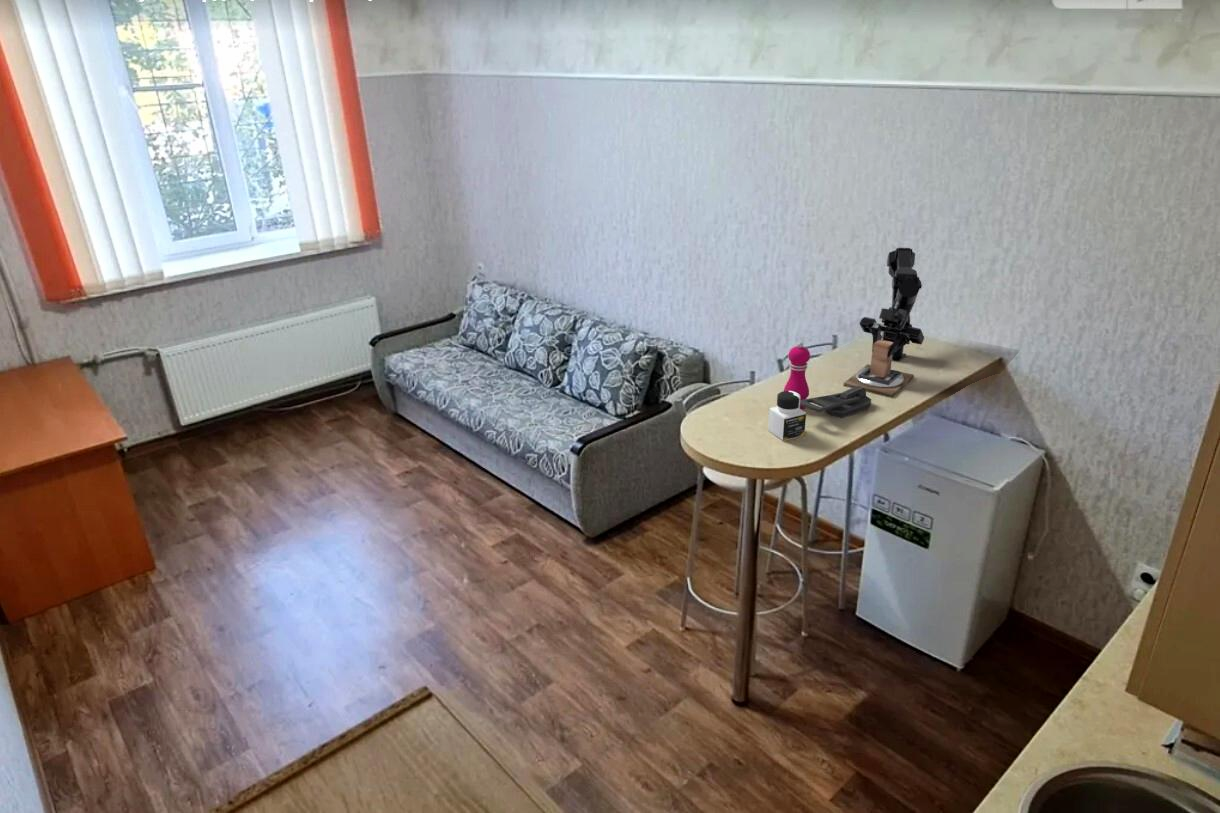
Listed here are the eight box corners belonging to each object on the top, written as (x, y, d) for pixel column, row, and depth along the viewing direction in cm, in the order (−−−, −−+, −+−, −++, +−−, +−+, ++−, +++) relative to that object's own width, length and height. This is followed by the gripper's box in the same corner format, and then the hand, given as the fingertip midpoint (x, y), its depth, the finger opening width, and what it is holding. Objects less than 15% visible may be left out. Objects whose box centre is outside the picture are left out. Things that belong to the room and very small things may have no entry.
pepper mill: (791, 398, 232) (796, 335, 223) (812, 405, 227) (818, 341, 218) (777, 406, 227) (782, 342, 219) (799, 413, 223) (804, 348, 214)
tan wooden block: (876, 369, 242) (879, 339, 238) (890, 372, 239) (894, 342, 235) (869, 373, 239) (873, 343, 235) (883, 377, 236) (887, 346, 232)
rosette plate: (866, 366, 249) (867, 361, 248) (910, 376, 241) (910, 371, 240) (848, 381, 239) (848, 375, 238) (892, 392, 231) (893, 386, 230)
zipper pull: (794, 399, 216) (852, 376, 229) (793, 421, 219) (850, 396, 232) (820, 410, 209) (878, 385, 222) (818, 432, 212) (875, 406, 225)
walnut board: (867, 367, 251) (867, 364, 250) (913, 377, 242) (913, 374, 242) (843, 385, 238) (843, 382, 238) (891, 397, 230) (891, 394, 229)
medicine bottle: (782, 441, 208) (785, 401, 203) (767, 430, 214) (770, 391, 209) (804, 436, 210) (808, 396, 205) (789, 425, 216) (792, 386, 211)
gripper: (865, 291, 237) (844, 335, 235) (925, 303, 226) (904, 349, 223) (874, 309, 246) (854, 352, 243) (932, 321, 234) (912, 366, 232)
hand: (880, 354), depth 235 cm, fingers closed on tan wooden block, 4 cm apart
